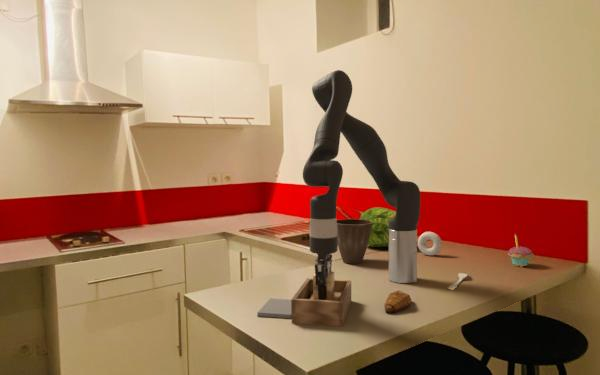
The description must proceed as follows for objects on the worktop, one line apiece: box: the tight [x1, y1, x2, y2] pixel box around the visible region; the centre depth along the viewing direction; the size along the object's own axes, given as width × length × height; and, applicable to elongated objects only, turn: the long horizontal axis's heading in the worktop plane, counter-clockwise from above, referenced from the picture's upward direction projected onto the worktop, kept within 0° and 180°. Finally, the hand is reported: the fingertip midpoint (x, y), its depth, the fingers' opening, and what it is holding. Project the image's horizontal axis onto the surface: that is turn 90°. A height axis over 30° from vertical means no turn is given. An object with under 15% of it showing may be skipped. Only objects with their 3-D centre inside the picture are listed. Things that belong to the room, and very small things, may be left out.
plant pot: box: [336, 218, 372, 265], centre depth 180 cm, size 15×15×16 cm
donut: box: [417, 231, 443, 256], centre depth 189 cm, size 10×4×10 cm, turn 55°
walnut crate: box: [290, 278, 352, 327], centre depth 124 cm, size 13×20×6 cm, turn 168°
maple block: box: [312, 271, 335, 301], centre depth 125 cm, size 5×5×7 cm
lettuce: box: [359, 206, 396, 248], centre depth 206 cm, size 19×23×18 cm
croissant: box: [384, 290, 412, 314], centre depth 127 cm, size 14×7×5 cm, turn 144°
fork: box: [448, 272, 471, 289], centre depth 150 cm, size 3×21×3 cm, turn 146°
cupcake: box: [507, 233, 535, 265], centre depth 170 cm, size 9×8×12 cm
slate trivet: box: [256, 298, 292, 319], centre depth 126 cm, size 9×12×1 cm
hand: (324, 295), depth 125 cm, fingers closed on maple block, 5 cm apart
